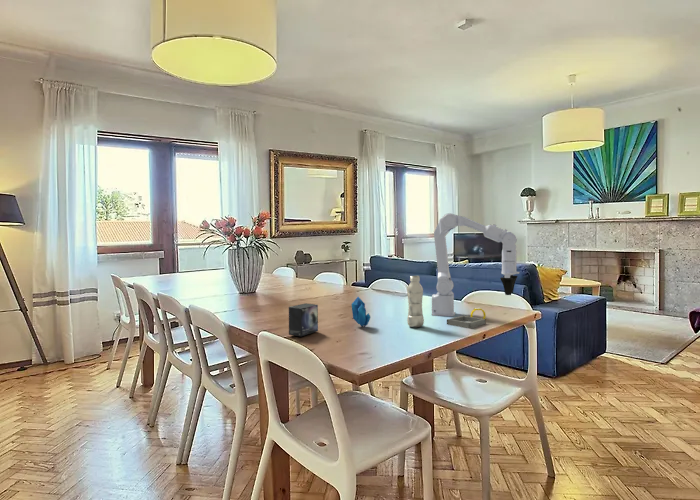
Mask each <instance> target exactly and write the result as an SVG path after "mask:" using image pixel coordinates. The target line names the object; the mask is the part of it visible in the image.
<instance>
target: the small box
mask: <svg viewBox="0 0 700 500" xmlns="http://www.w3.org/2000/svg"><path fill="white" fill-rule="evenodd" d="M318 310H319V305H318V304H313V303H300V304H297V305H292V306H291V305H290V306H288V335H290V336H296V337H303V336H307V335H310V334H313V333H317V332H319V312H318Z"/></svg>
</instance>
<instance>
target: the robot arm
mask: <svg viewBox="0 0 700 500" xmlns="http://www.w3.org/2000/svg"><path fill="white" fill-rule="evenodd" d="M456 227H467V228H469V229H473V230H475V231H478V232H481V233H483V236H484V238H487V239H488V240H492V241H494V242H496V243H502V250H501V275H503V276H501V277H500V281H501V284H502V285H503V290H504V294H505V296H512V294H513V293H514V290H515V285H516V281H517V279H518V274H520V271H517V245H516V243H517V240H518V238H517V236H516V234H515V233H513V232H511V231H508V229H506V228H505V229H504V228H501V227H498V226H497V225H496V224H488V225H485V224H482V223H480V222H477V221H475V220H474V219H470V218H468V217H466V216H463V215H458V214H453V213H450V212H449V213H445V214H444V215H443V216H441V218H439V221H438V224H437V225H436V228H435V229H434V231H433V238H434V247H435V255H436V256H435V258H436V265H437V283H436V285H435V286H436V287H435V288H436V291H437V292H436V294H435V293H433V294H432V295H431V315H432V316H438V317H439V316H443V317H448V316H449V317H455V315H456V311H455V310H454V309H455V306H454V305H455V293H454V292H453V289H454V286H455V283H454V282H453V280H452V276H451V273H450V267H449V258H448V248H447V247H448V246H447V241H446V240H447V239H446V238H447V237H446V236H447V235H448V234H449V233H450V231H452V230H453V229H455V228H456Z"/></svg>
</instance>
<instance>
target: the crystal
mask: <svg viewBox="0 0 700 500" xmlns="http://www.w3.org/2000/svg"><path fill="white" fill-rule="evenodd" d="M351 313H352V319H353V320H354V321H355V322H356V323H357V324H358V325H360V326H361V327H362V328H365V327H366V326H368V325H369V322H370V320H371V315H370V313H368V312H367V309H366V303H365V302H364V301H363V300H362V299H361V298H360V297H359V296H356V298H355V299H354V301H352V303H351Z"/></svg>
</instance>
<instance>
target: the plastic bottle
mask: <svg viewBox="0 0 700 500" xmlns="http://www.w3.org/2000/svg"><path fill="white" fill-rule="evenodd" d="M409 277H410V278H409V281H410V283H409V284H408V286H407V288H406V295H407V299H408V300H407V303H408V309H407V310H408V313H407V320H406V321H407V325H408V327H410V328H422V327H423V326H424V322H425V319H424V314H423V295H424V287H423V285H421V282H420V281H421V279H420V275H410V276H409Z"/></svg>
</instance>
